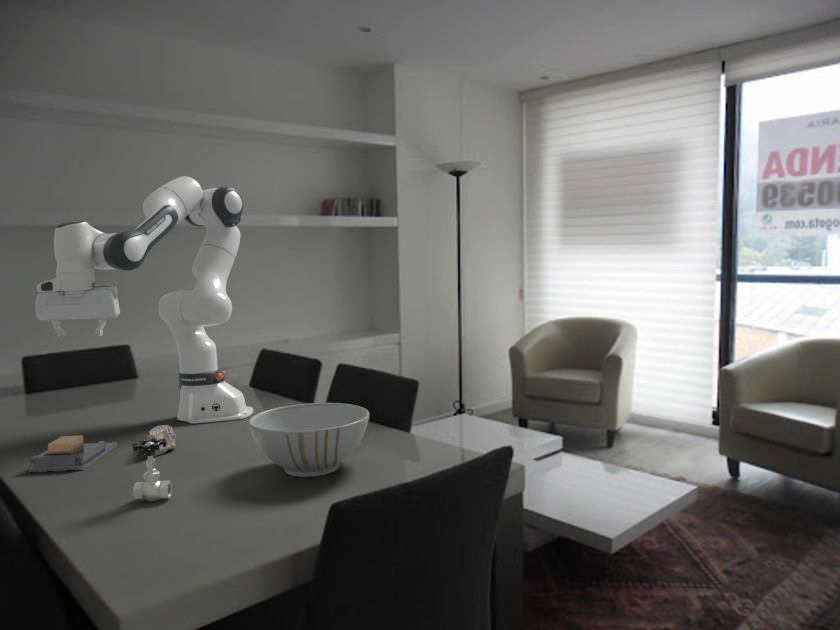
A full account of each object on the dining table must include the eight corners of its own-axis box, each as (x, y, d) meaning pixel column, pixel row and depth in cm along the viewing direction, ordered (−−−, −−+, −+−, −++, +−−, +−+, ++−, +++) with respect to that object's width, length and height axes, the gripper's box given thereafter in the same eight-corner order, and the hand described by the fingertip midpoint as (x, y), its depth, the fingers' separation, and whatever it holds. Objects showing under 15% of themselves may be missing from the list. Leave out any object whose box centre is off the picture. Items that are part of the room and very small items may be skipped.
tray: (117, 445, 176) (116, 432, 176) (83, 470, 156) (82, 455, 156) (69, 448, 175) (68, 435, 175) (29, 472, 155) (27, 458, 155)
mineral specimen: (176, 456, 165) (174, 431, 165) (145, 460, 163) (143, 435, 162) (176, 443, 177) (175, 420, 177) (147, 446, 175) (145, 423, 174)
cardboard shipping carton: (84, 455, 165) (82, 435, 164) (71, 463, 158) (69, 443, 157) (63, 456, 165) (62, 436, 164) (49, 465, 158) (47, 444, 157)
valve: (141, 495, 137) (137, 438, 136) (174, 493, 138) (171, 436, 137) (130, 507, 131) (126, 447, 130) (165, 505, 131) (161, 445, 130)
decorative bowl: (318, 496, 133) (315, 437, 132) (225, 477, 148) (222, 423, 147) (394, 459, 156) (392, 408, 155) (307, 445, 170) (304, 398, 169)
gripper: (121, 281, 177) (125, 333, 179) (42, 284, 176) (47, 336, 178) (112, 282, 171) (116, 336, 172) (30, 285, 170) (34, 339, 171)
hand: (80, 336), depth 175 cm, fingers open, 8 cm apart
